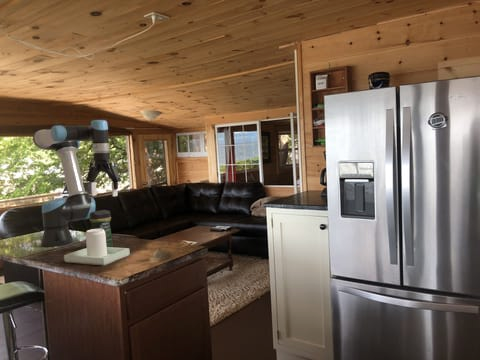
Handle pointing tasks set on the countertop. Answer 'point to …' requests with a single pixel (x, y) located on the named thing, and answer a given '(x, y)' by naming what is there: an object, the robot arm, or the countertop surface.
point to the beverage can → (96, 243)
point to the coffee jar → (102, 224)
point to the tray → (111, 256)
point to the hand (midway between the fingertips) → (104, 195)
